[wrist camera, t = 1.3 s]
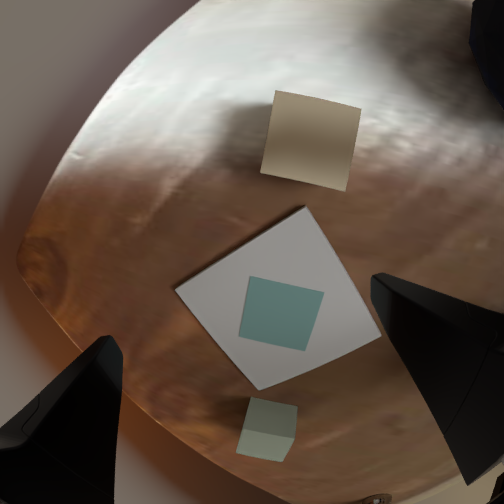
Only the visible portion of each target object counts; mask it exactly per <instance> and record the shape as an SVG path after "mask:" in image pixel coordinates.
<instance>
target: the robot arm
mask: <svg viewBox="0 0 504 504" xmlns="http://www.w3.org/2000/svg"><path fill="white" fill-rule="evenodd" d="M371 301H372V304H373V306H374V308H375V310H376V312H377V314H378V316H379V318H380V320H381V323H382V325H383V327H384V329H385V331H386V333H387V335H388V337H389V339H390V341H391V342H392V344H393V346H394V347H395V349H396V351H397V352H398V354H399V356H400V357H401V359H402V361H403V363H404V364H405V366H406V368H407V369H408V371H409V373H410V375H411V376H412V378H413V380H414V382H415V383H416V385H417V387H418V389H419V391H420V392H421V394H422V396H423V398H424V400H425V401H426V403H427V405H428V407H429V409H430V411H431V413H432V415H433V416H434V418H435V420H436V422H437V424H438V426H439V428H440V430H441V432H442V434H443V435H444V438H445V440H446V442H447V444H448V446H449V448H450V450H451V452H452V454H453V457H454V459H455V461H456V463H457V465H458V467H459V469H460V472H461V474H462V476H463V478H464V480H465V483H466V484H467V486H468V485H470V484H471V483H473V482H474V481H476V480H477V479H479V478H480V477H481V476H483V475H484V474H486V473H487V472H489V471H490V470H491V469H492V468H494V467H495V466H497V465H498V464H499V463H500V462H502V463H503V465H504V314H502V313H498V312H495V311H492V310H488V309H485V308H482V307H479V306H477V305H474V304H471V303H468V302H465V301H463V300H460V299H457V298H454V297H452V296H449V295H446V294H443V293H440V292H438V291H435V290H432V289H429V288H426V287H423V286H421V285H418V284H415V283H412V282H409V281H406V280H403V279H400V278H398V277H395V276H392V275H389V274H386V273H378V274H375V275H372V277H371ZM122 373H123V354H122V352H121V350H120V348H119V347H118V345H117V343H116V342H115V340H114V338H113V337H112V336H110V335H107V336H101V337H99V338H98V339H97V340H96V341H95V342H94V343H93V344H92V345H90V346H89V347H88V348H87V349H86V350H85V351H84V352H83V353H82V354H81V355H79V357H77V358H76V359H75V360H74V361H73V362H72V363H71V364H70V365H69V366H68V367H66V369H64V370H63V371H62V372H61V373H60V374H59V375H58V376H57V377H56V378H55V379H54V380H53V381H52V382H51V383H50V384H48V385H47V386H46V387H45V388H44V389H43V390H42V391H41V392H40V394H38V395H37V396H36V397H35V398H34V399H33V400H31V401H30V402H29V403H28V404H27V405H26V406H25V407H24V408H23V409H22V410H21V411H19V412H18V413H17V414H16V415H15V416H14V417H12V418H11V419H10V420H9V421H8V422H7V423H6V424H4V425H3V426H2V427H1V428H0V504H114V483H115V460H116V445H117V434H118V424H119V414H120V405H121V396H122ZM487 504H504V472H503V473H502V474H501V475H500V476H499V477H497V480H496V484H495V487H494V490H493V493H492V496H491V499H490V501H489V502H488V503H487Z"/></svg>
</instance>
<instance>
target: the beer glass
mask: <svg viewBox="0 0 504 504" xmlns="http://www.w3.org/2000/svg"><path fill="white" fill-rule="evenodd" d="M391 501H392V495H390V494H378V495H374V496H370V497H368V498H366V499H364V500H363V501H362V504H391Z"/></svg>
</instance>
